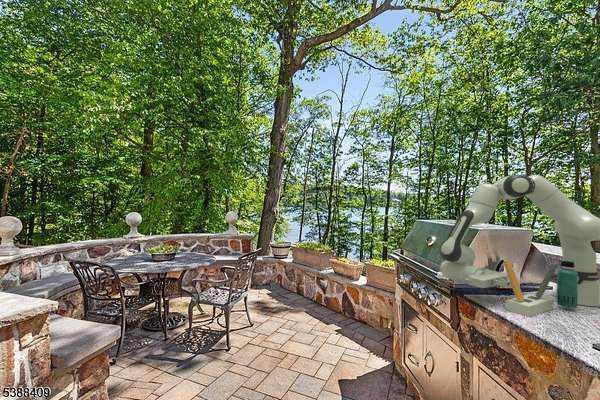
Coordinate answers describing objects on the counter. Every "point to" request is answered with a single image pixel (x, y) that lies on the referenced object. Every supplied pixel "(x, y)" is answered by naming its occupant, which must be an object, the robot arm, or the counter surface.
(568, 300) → the beverage bottle
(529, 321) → the counter surface
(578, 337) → the counter surface
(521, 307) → the cream base with pads
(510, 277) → the orange bar
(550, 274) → the bar
